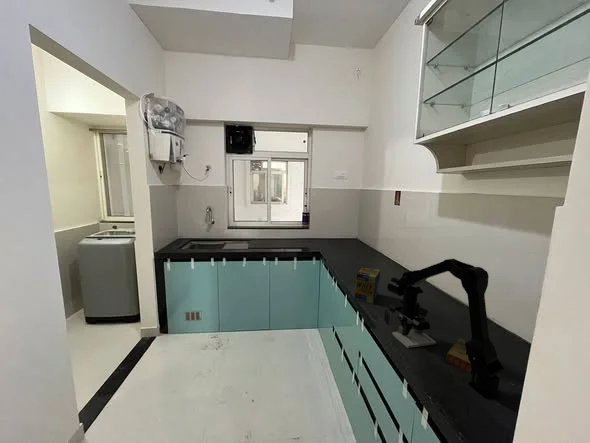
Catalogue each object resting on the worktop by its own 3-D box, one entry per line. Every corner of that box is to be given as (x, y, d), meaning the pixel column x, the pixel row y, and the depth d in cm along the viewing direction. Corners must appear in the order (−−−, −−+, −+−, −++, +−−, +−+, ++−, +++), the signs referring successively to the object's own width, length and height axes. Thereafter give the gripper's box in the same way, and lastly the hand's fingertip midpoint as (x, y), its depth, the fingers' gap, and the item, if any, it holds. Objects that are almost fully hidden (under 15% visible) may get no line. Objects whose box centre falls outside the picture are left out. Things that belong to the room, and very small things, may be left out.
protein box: (354, 299, 152) (356, 273, 149) (360, 290, 165) (363, 266, 163) (372, 304, 147) (375, 277, 145) (378, 294, 160) (380, 269, 158)
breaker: (423, 332, 118) (424, 327, 118) (418, 333, 118) (419, 328, 117) (418, 328, 122) (419, 323, 121) (413, 329, 121) (413, 324, 120)
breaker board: (435, 343, 113) (435, 341, 113) (407, 348, 109) (408, 345, 109) (418, 330, 122) (418, 328, 122) (392, 334, 118) (392, 332, 118)
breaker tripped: (408, 334, 117) (408, 328, 116) (402, 334, 116) (403, 329, 115) (403, 330, 120) (403, 325, 119) (397, 330, 119) (398, 325, 118)
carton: (445, 362, 102) (446, 352, 101) (457, 346, 113) (459, 336, 112) (470, 374, 96) (472, 363, 95) (481, 356, 107) (483, 346, 106)
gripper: (443, 308, 107) (438, 344, 109) (410, 290, 125) (407, 322, 126) (420, 310, 104) (416, 348, 106) (390, 292, 121) (387, 325, 123)
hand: (406, 334), depth 115 cm, fingers closed
